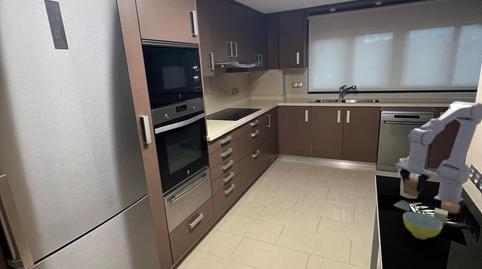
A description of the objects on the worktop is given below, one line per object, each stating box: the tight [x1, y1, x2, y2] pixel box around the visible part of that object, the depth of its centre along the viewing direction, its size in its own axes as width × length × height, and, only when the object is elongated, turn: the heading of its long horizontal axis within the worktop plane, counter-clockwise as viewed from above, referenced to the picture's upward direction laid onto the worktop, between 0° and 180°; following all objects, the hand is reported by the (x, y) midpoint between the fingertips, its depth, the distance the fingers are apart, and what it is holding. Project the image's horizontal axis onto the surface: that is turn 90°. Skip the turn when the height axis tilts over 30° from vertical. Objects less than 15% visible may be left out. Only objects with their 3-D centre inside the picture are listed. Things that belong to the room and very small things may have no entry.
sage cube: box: [432, 207, 449, 225], centre depth 101 cm, size 4×4×4 cm
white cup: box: [399, 173, 421, 200], centre depth 121 cm, size 8×8×10 cm
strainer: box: [397, 156, 416, 178], centre depth 130 cm, size 7×7×15 cm
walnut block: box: [403, 177, 421, 197], centre depth 109 cm, size 4×4×6 cm
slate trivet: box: [393, 199, 413, 212], centre depth 111 cm, size 8×8×1 cm
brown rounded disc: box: [440, 200, 461, 215], centre depth 109 cm, size 6×6×3 cm
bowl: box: [402, 211, 444, 240], centre depth 91 cm, size 11×12×6 cm
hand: (412, 189), depth 109 cm, fingers closed on walnut block, 4 cm apart
